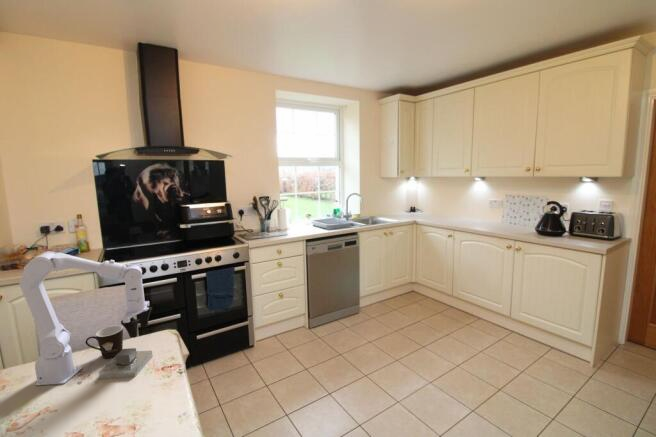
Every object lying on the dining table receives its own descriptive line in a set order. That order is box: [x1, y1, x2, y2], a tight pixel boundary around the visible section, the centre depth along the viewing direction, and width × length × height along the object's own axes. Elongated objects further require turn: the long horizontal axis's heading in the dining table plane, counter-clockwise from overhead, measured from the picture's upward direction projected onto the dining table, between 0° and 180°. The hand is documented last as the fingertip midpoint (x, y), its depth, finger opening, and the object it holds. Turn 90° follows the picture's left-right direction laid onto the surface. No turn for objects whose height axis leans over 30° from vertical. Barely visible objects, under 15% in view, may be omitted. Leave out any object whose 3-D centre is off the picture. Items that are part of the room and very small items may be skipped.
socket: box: [98, 350, 154, 380], centre depth 112 cm, size 12×12×3 cm
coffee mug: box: [85, 324, 124, 361], centre depth 120 cm, size 12×9×10 cm
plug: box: [116, 347, 137, 364], centre depth 112 cm, size 4×4×6 cm
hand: (139, 331), depth 117 cm, fingers open, 7 cm apart
